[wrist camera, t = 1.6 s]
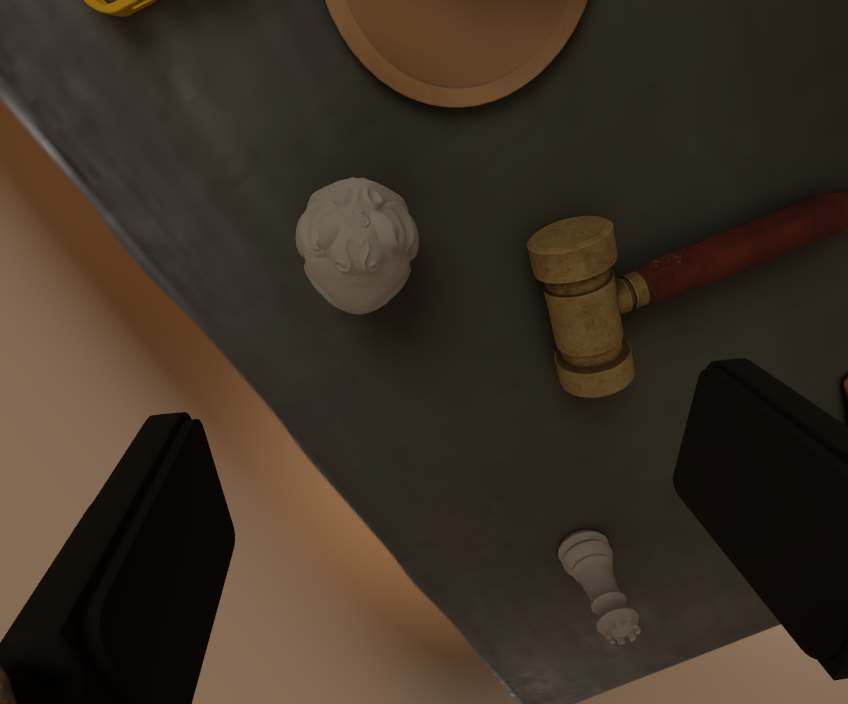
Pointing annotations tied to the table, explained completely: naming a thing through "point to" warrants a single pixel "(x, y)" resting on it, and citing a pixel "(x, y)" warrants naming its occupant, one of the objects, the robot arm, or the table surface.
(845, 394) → the sunglasses case
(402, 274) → the grey sculpted head
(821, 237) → the gavel
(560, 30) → the coaster
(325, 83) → the table surface
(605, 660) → the table surface
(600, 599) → the rook chess piece
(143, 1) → the phone case
